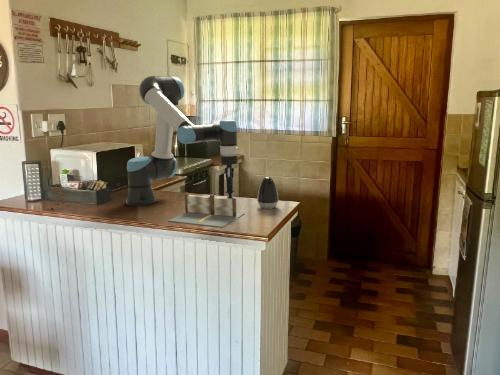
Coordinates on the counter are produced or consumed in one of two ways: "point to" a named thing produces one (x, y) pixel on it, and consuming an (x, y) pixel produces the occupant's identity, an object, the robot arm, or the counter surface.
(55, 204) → the gingerbread man figurine
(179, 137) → the robot arm
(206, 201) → the fixed fence section
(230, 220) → the board
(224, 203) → the folding fence panel
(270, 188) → the egg-shaped speaker
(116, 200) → the counter surface
